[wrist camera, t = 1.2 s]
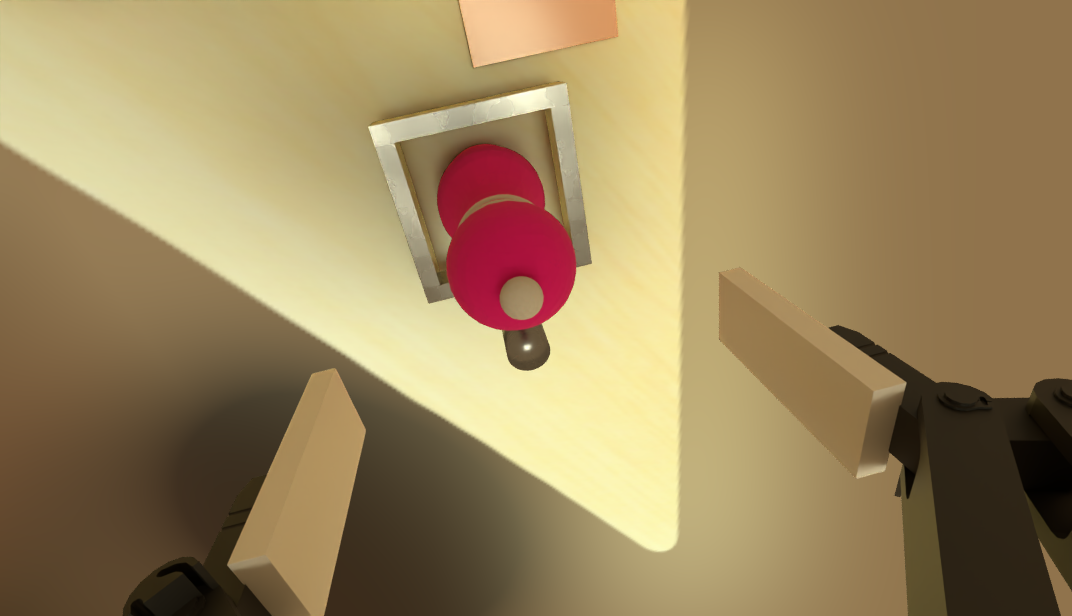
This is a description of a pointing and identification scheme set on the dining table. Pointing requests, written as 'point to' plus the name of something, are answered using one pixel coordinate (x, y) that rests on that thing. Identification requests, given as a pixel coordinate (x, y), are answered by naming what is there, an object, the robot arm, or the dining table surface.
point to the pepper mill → (503, 240)
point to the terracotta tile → (533, 26)
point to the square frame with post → (521, 345)
